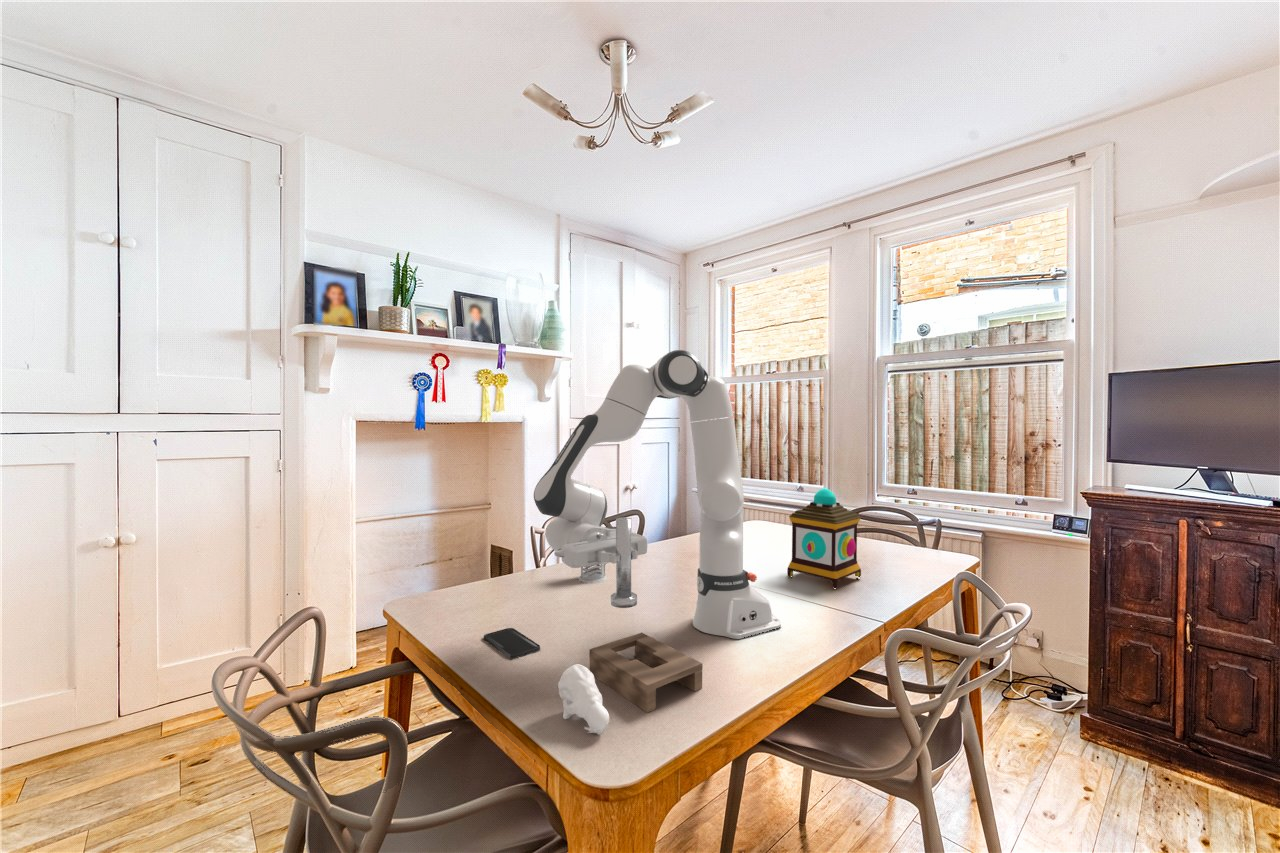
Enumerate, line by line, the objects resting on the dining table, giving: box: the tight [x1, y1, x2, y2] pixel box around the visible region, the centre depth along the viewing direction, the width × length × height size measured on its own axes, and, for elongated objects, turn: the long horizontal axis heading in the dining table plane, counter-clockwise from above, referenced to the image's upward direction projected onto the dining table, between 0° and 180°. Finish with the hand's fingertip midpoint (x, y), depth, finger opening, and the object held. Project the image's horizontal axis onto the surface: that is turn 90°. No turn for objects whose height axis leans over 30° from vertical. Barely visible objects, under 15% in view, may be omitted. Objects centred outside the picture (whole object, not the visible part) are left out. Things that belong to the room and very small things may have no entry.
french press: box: [577, 562, 610, 584], centre depth 176 cm, size 10×12×25 cm
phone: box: [483, 627, 541, 660], centre depth 125 cm, size 8×1×15 cm
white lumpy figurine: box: [557, 663, 610, 736], centre depth 94 cm, size 6×8×12 cm
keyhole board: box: [588, 632, 703, 713], centre depth 109 cm, size 19×14×5 cm
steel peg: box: [610, 517, 638, 609], centre depth 114 cm, size 6×6×18 cm
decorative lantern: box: [786, 487, 862, 589], centre depth 177 cm, size 20×20×30 cm
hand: (626, 557), depth 113 cm, fingers closed on steel peg, 3 cm apart
